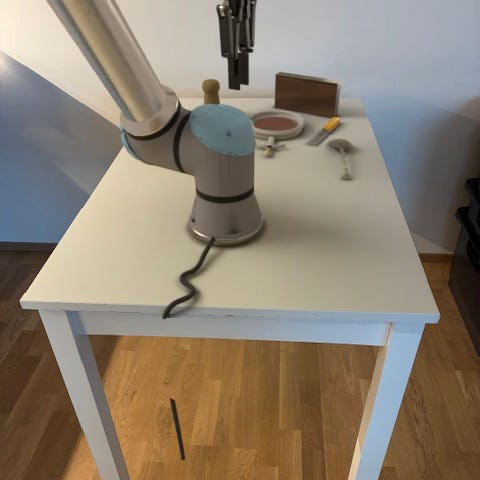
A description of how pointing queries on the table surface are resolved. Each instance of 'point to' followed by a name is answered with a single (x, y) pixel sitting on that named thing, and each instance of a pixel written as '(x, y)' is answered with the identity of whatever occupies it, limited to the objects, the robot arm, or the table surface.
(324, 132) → the knife
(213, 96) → the cork
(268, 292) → the table surface
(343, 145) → the soupspoon
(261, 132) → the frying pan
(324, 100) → the wooden block
